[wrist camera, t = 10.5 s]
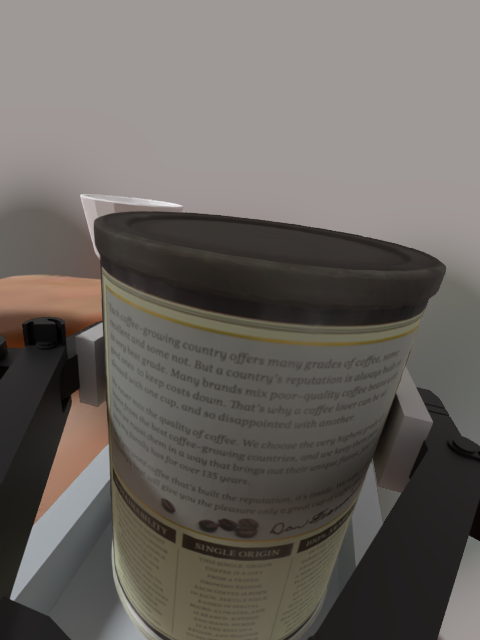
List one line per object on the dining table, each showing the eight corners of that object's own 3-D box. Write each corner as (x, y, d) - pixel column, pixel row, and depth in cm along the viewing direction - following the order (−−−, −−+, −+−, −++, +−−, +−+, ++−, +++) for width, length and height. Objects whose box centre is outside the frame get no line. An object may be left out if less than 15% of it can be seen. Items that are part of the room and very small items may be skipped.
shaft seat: (392, 958, 9) (498, 889, 6) (-49, 717, 11) (-101, 602, 9) (345, 419, 30) (364, 355, 28) (196, 381, 33) (202, 320, 31)
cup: (194, 306, 54) (202, 207, 48) (137, 331, 42) (137, 205, 37) (132, 287, 59) (132, 196, 53) (65, 306, 47) (55, 191, 42)
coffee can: (94, 481, 17) (78, 201, 12) (257, 432, 22) (294, 221, 17) (138, 768, 9) (145, 271, 4) (381, 587, 14) (525, 269, 9)
